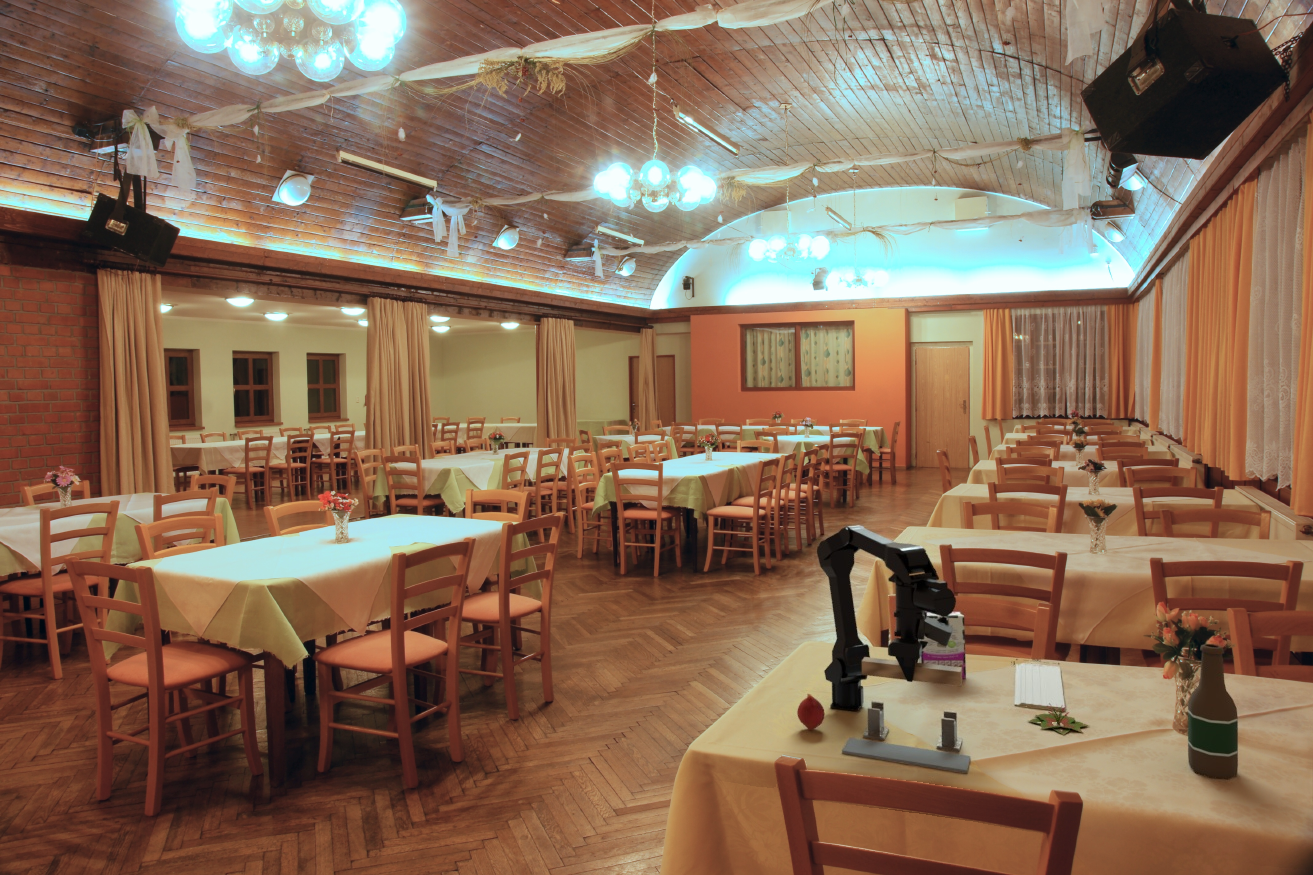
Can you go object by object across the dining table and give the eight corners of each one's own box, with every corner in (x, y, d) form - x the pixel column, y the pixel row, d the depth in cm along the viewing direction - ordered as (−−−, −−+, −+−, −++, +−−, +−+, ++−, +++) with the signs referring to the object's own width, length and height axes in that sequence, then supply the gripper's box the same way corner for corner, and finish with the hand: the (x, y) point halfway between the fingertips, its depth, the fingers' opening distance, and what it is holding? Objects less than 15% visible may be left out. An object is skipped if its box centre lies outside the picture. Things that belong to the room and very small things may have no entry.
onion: (826, 725, 179) (825, 690, 179) (822, 736, 173) (822, 699, 173) (800, 723, 181) (799, 688, 180) (795, 733, 175) (795, 697, 175)
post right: (936, 748, 166) (936, 718, 165) (940, 737, 171) (939, 708, 171) (959, 751, 164) (958, 721, 163) (962, 740, 169) (961, 711, 169)
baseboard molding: (1007, 707, 188) (1065, 714, 183) (1007, 695, 188) (1065, 701, 183) (1010, 667, 216) (1059, 672, 211) (1009, 656, 216) (1059, 661, 211)
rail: (861, 674, 173) (861, 660, 173) (864, 670, 176) (864, 656, 176) (960, 686, 164) (960, 671, 164) (962, 681, 167) (961, 667, 167)
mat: (842, 753, 165) (842, 750, 165) (849, 740, 171) (849, 737, 171) (967, 773, 154) (967, 770, 154) (970, 758, 160) (970, 755, 160)
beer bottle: (1178, 763, 156) (1177, 640, 155) (1215, 760, 156) (1215, 638, 156) (1209, 781, 148) (1208, 652, 147) (1248, 778, 149) (1248, 650, 148)
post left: (863, 737, 172) (862, 708, 172) (868, 726, 178) (868, 699, 177) (884, 740, 170) (883, 711, 170) (889, 729, 176) (888, 701, 175)
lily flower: (1101, 729, 174) (1101, 708, 174) (1065, 741, 168) (1065, 720, 168) (1051, 711, 184) (1050, 692, 184) (1016, 722, 179) (1015, 702, 178)
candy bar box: (961, 672, 211) (960, 610, 211) (966, 679, 206) (965, 615, 206) (917, 672, 213) (916, 610, 212) (921, 678, 208) (920, 615, 207)
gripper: (944, 620, 158) (946, 698, 158) (954, 598, 174) (956, 670, 175) (886, 615, 163) (888, 691, 163) (901, 595, 179) (903, 664, 180)
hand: (911, 678), depth 170 cm, fingers closed on rail, 3 cm apart
